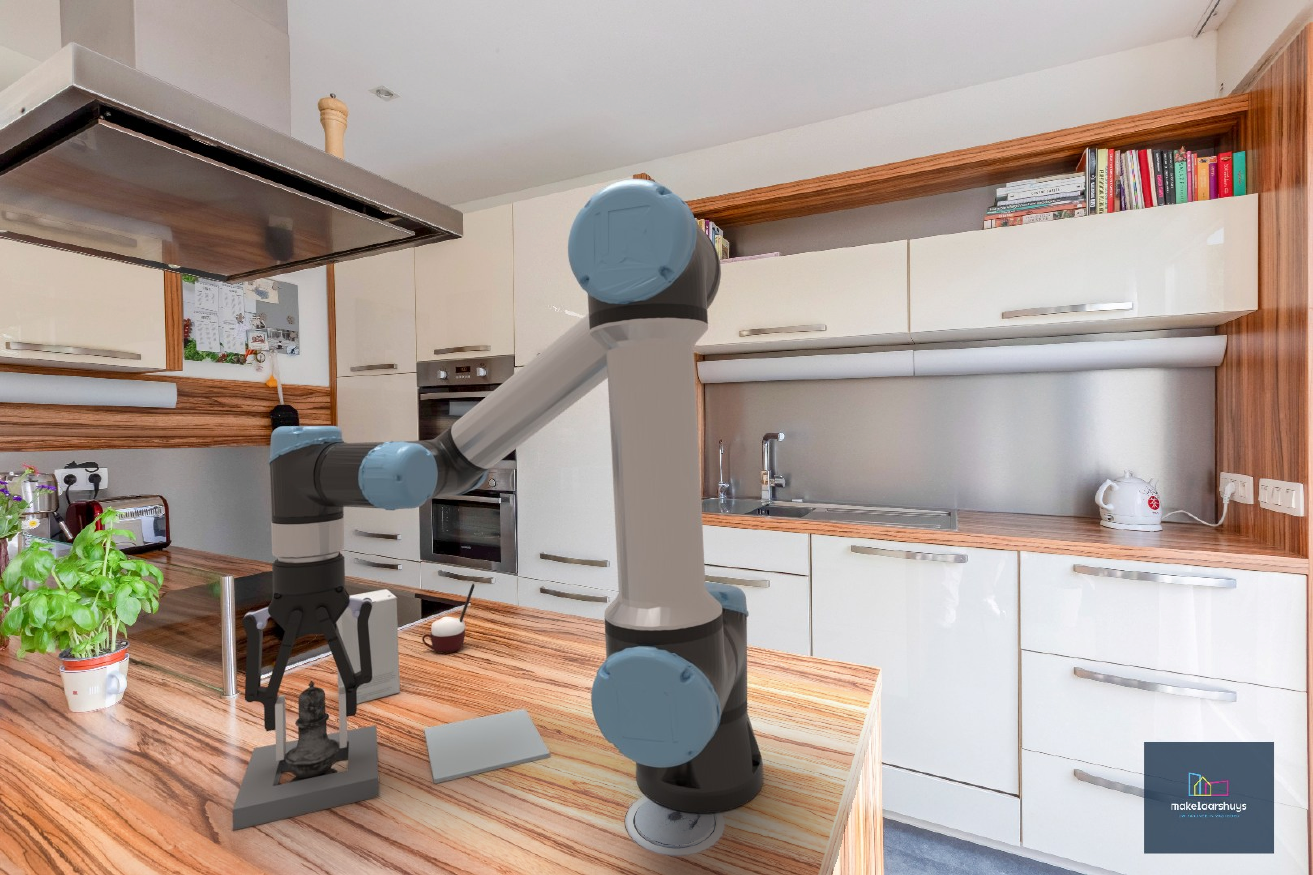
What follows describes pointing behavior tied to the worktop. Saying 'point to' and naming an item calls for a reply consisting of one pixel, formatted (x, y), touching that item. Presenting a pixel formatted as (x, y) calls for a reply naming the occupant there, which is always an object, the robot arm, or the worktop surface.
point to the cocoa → (448, 631)
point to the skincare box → (374, 645)
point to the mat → (483, 745)
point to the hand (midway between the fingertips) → (313, 748)
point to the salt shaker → (312, 738)
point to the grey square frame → (306, 782)
